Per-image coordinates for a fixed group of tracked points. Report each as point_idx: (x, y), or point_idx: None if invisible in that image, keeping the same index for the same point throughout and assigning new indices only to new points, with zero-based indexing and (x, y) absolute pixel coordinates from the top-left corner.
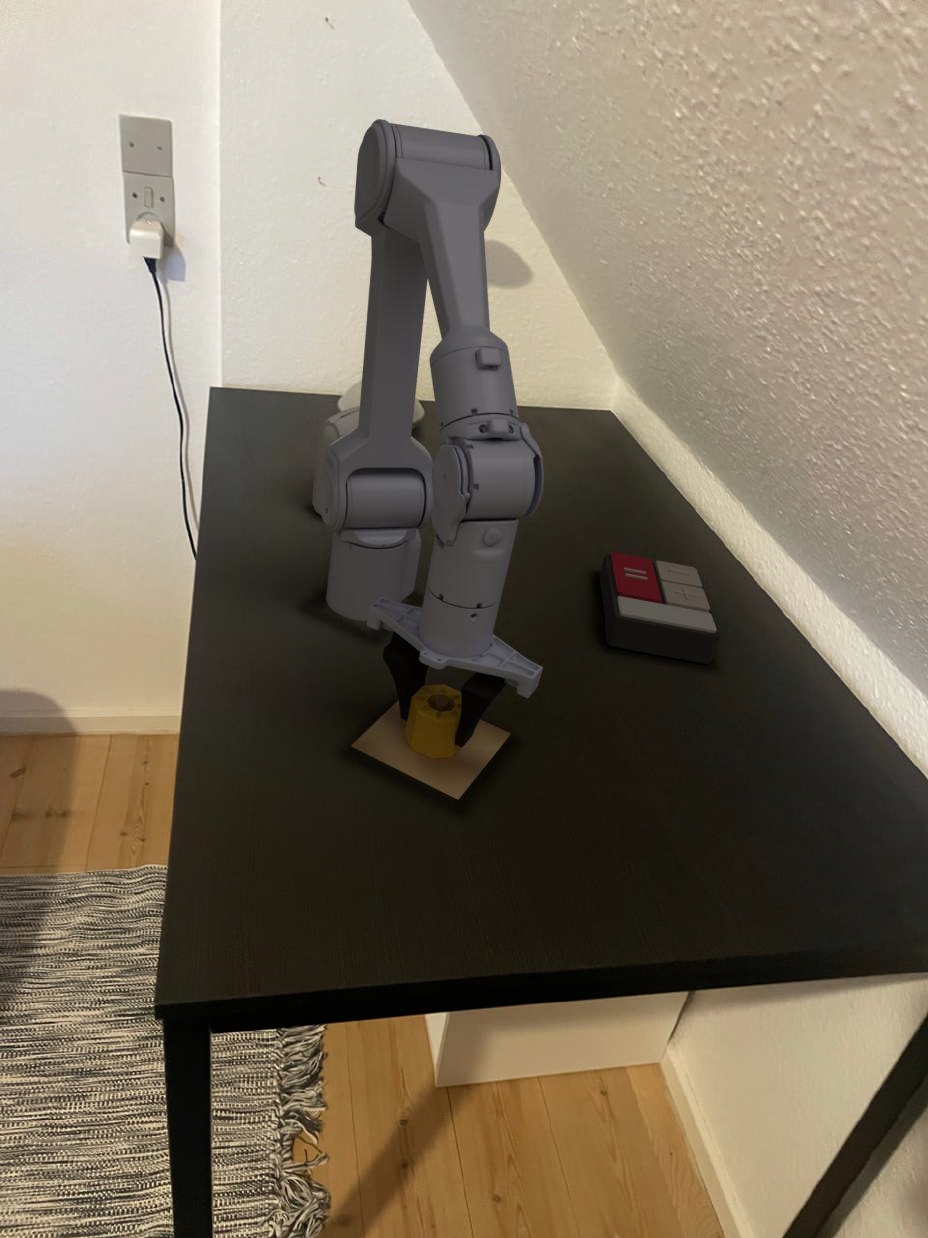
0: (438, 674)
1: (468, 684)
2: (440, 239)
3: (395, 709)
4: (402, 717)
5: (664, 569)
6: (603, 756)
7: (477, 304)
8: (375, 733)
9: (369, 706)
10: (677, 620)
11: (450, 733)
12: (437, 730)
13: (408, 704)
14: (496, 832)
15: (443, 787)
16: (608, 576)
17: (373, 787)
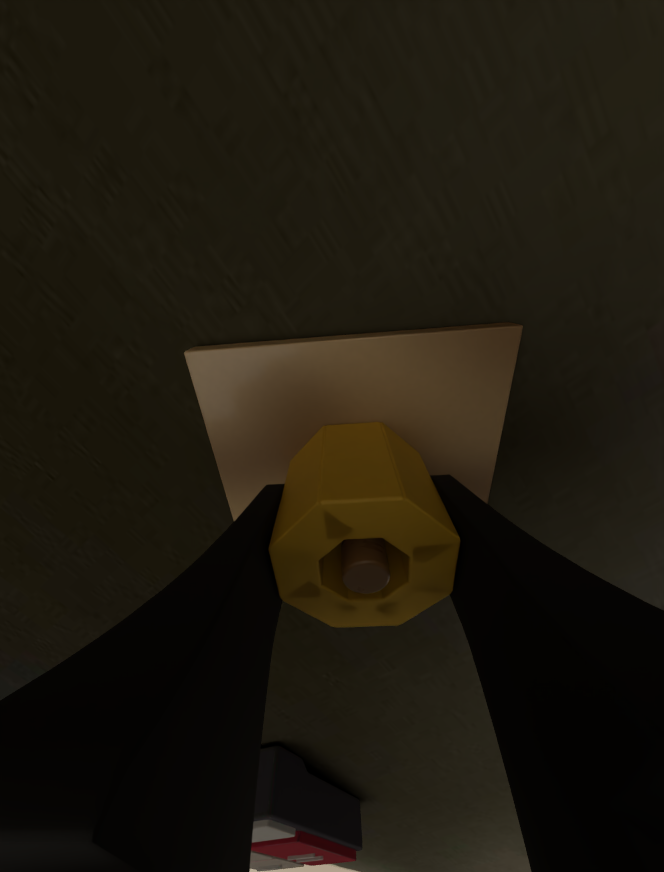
0: (446, 610)
1: (90, 861)
2: None
3: None
4: (447, 477)
5: (285, 864)
6: (128, 612)
7: None
8: (482, 410)
9: (529, 481)
10: None
11: (291, 497)
12: (316, 479)
13: (453, 512)
14: (76, 340)
15: (237, 362)
16: (334, 837)
17: (392, 252)
